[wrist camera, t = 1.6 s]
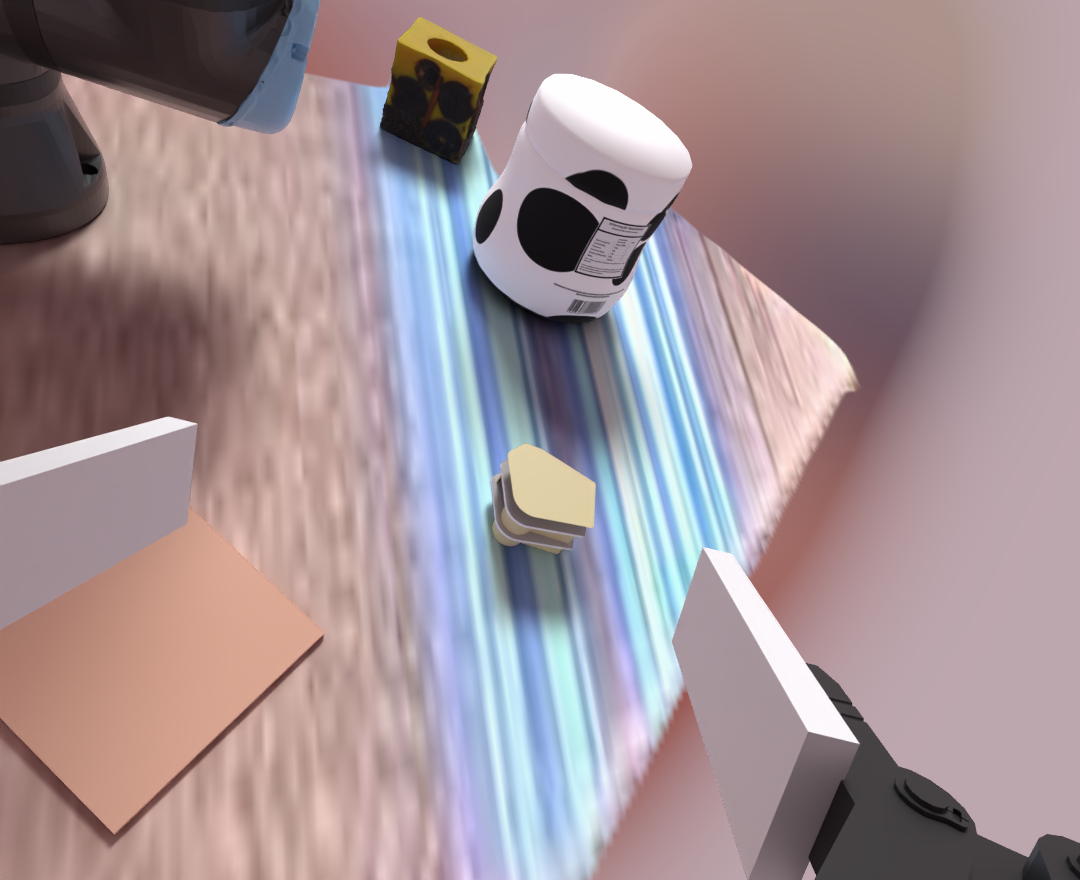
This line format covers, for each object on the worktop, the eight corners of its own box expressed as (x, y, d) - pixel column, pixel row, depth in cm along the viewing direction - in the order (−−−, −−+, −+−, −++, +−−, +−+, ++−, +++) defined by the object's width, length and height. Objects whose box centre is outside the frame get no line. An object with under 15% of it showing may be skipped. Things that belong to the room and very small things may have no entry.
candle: (474, 134, 78) (500, 57, 71) (458, 168, 71) (486, 86, 64) (400, 97, 76) (420, 13, 69) (377, 128, 69) (396, 39, 62)
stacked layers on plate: (582, 495, 49) (614, 459, 45) (576, 593, 43) (612, 562, 39) (470, 456, 47) (494, 415, 43) (448, 555, 41) (473, 517, 37)
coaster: (-66, 650, 27) (-69, 648, 27) (179, 500, 35) (179, 496, 35) (115, 834, 26) (113, 834, 26) (323, 634, 34) (324, 632, 34)
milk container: (512, 211, 71) (580, 56, 58) (628, 296, 70) (721, 159, 57) (430, 261, 59) (492, 79, 46) (569, 364, 58) (671, 209, 45)
